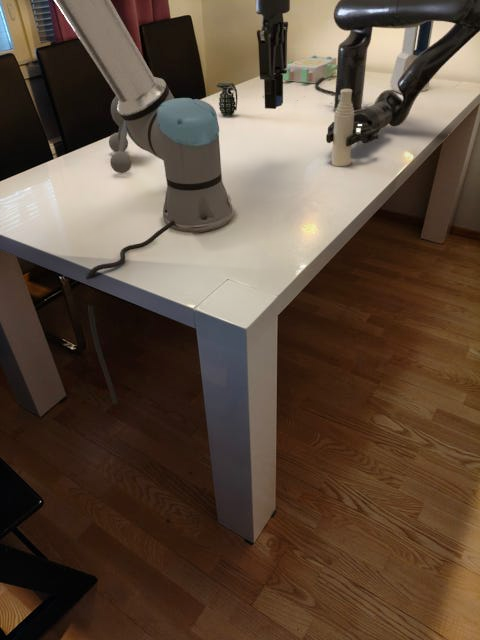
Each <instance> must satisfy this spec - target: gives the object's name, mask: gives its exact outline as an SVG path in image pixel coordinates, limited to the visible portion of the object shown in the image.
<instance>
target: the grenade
mask: <svg viewBox="0 0 480 640" xmlns="http://www.w3.org/2000/svg"><path fill="white" fill-rule="evenodd" d="M215 87H217V88H219V89H221V93H219V97H218V101H219V102H218V106H219V108H218V109H219V112H220V114H221V115H222V116H224V117H231V116H233V115H234V113H235V112H236V111H237V108H238V89H237V87H236V85H235V84H234V83H233V82H218V83H217V84H216V86H215ZM232 91H233V92H232ZM234 94H235V96H234Z"/></svg>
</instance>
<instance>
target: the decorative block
mask: <svg viewBox="0 0 480 640" xmlns="http://www.w3.org/2000/svg"><path fill="white" fill-rule="evenodd" d="M337 60H338V57H332V56H317V55H312V56H310V57H308V58H302V59H299V60H296V61H293V60H289V61H287V68H286V69H284V70H287V73H286V74H283V81H287V82H288V81H289V82H297V83H306V84H307V83H308V84H316V83H317V82H318V81H319V80H320V79H321V78H323V77H324V79H323V80H325V79H328V78H330V77H332V76H333V75H334V74H337Z"/></svg>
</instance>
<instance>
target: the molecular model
mask: <svg viewBox="0 0 480 640" xmlns="http://www.w3.org/2000/svg"><path fill="white" fill-rule="evenodd" d="M118 101H119V99H118V97H117V96H116V95H115V96H114V98H113V99H112V101H111V105H110V115H111V117H112V120H113V121H114V122H115V124H116V125H117V126H118V132H114V133H112V134H110V136H109V139H108V146H109V148H110V150H112V151H113V152H114V153H112V155H111V157H110V159H109V162H110V167H111V168H112V170H113V171H115V172H116V173H118V174H126V173H127V172H129V170H131V168H132V163H133V162H132V158H131V156H130V155H129V154H128V153H127V152H125V151H126V150H127V149H128V146H129V141H128V138H127V136H128V133H127V131H126V129H125V125H124V120H123V118H122V117H121V115H120V114H119V112H118V110H117V106H118Z"/></svg>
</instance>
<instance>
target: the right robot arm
mask: <svg viewBox="0 0 480 640" xmlns="http://www.w3.org/2000/svg"><path fill="white" fill-rule="evenodd" d="M333 20H334V23H335V25H336V26H337V27H338V28H339V29H340V30H342V31H345V32H349V34H348V36H347V37H346V38H345V39H344V40H343V41H342V42H340V43H339V45H338V49H337V60H336V65H337V70H336V77H335V90H334V91H333V90H328V89H324V88H322V87H320V86H319V84H320V83H321V82H322V81H323V80H325V79H324V77H323V78H321V79H320V80H319V81H318V82H317V83H315V86H314V87H315V88H316V90H319V91H321V92H323V93H326V94H331V95H334V107H333V111H334V112H335V111H336V108H337V107H338V104H339V101H340V91H341V90H342V89H351V90H352V97H351V101H352V104H353V108H354V109H353V110H354V124H353V134H352V135H350V136H349V137H347V139H346V146H351V145H352V146H353V145H355V144H359V143H360V142H361V144H363V145H365V144H368V143H372V142H373V141H376V140H379V137H380V131H381V130H383V129H385V127H387V126H388V125H389V126H391V127H399V126H400V125H402V124H403V123H404V122H405V121H406V119H407V118H408V116H409V114H410V112H411V110H412V108H413V105H414V103H415V101H417V98H418V96H419V95H420V93H422V92H423V91H422V90H423V88H424V87H425V86H426V85H427V84H428V82H429V83H430V82H431V80H432V79H433V77H434V76H435V75H437V73H438V72H439V71H440V70H441V69H442V68H443V66H445V64H446V63H447V62H448V61H450V60H451V58H453V56H454V55H456V54H457V53H458V52H459V51H460V50H461V49H462V48H463V47H465V45H467V43H468V42H469V41H471V40H472V39H473V38H474V37H475V36H476V35H477V34H478V33H479V32H480V0H338V2H337V3H336V5H335V7H334V10H333ZM428 21H434V22H444V23H445V22H446V23H451V24H454V25H453V26H452V27H451V28H450V29H449V30H448V31H447V32H446V33H445V34H444V35H443V36H442V37H441V38H439V39H438V40H437V41H435V42H434V43H433V44H430V46H429V48H427V49H426V50H425V51H423V52H422V53H421V54H420V55H419V56H417V57H416V59H415V60H414V61H413V62H412V63H411V64H410V66H409V67H408V68H407V70H406V71H405V72H404V73H403V75H402V76H401V77H400V79H399V80H398V83H397V85H398V88H399V90H400V92H401V93H402V94H401V93H400V94H401V96H402V98H401V97H400V96H399V95H398V94H397V93H396V91H394V90H392V89H386V90H384V91H382V92H381V93H380V94H379V95H378V96H377V98H376V99H375V100H374V103H373V104H371V105H369V106H366V107H364V108H363V100H364V99H363V98H364V90H365V89H364V88H365V78H366V67H367V57H368V49H369V47H370V44H371V42H372V41H371V40H372V34H373V30H374V29H373V28H378V29H396V30H397V29H398V30H399V29H405V28H413V27H417V26H418V27H420V25H422V24H423V23H425V22H428ZM333 132H334V121H332V122H331V123H330V124H329V126H328V127H327V134H326V137H325V141H326V143H327V144H331V143H333ZM352 146H351V147H352Z"/></svg>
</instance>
